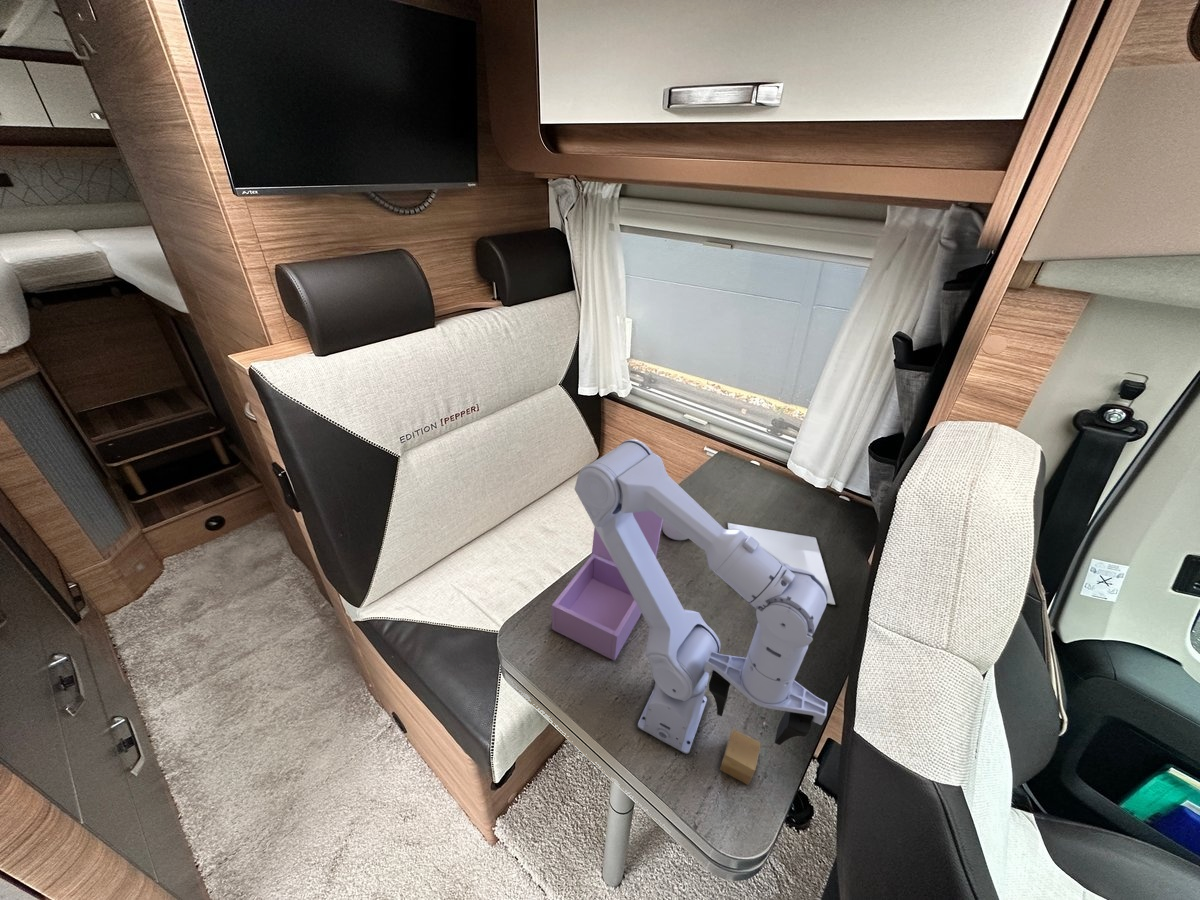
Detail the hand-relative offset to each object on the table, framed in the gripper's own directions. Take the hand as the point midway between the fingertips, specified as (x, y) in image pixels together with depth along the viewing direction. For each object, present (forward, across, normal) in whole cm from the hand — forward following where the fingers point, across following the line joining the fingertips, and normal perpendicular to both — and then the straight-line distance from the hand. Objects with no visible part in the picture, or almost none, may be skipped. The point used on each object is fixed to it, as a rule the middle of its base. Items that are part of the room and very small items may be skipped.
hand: (749, 722), depth 63 cm
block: (+8, 0, +1) cm, 8 cm away
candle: (+8, +24, -42) cm, 49 cm away
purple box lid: (-7, +28, -20) cm, 35 cm away
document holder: (+8, +2, -44) cm, 45 cm away
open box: (+8, +28, -12) cm, 32 cm away
